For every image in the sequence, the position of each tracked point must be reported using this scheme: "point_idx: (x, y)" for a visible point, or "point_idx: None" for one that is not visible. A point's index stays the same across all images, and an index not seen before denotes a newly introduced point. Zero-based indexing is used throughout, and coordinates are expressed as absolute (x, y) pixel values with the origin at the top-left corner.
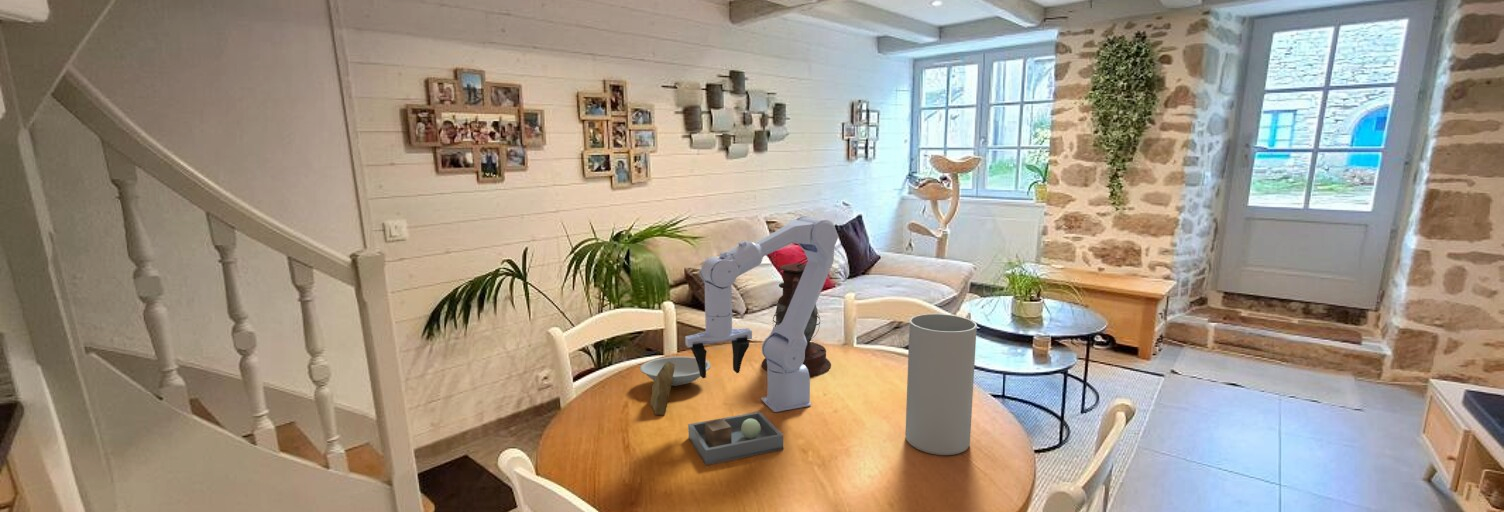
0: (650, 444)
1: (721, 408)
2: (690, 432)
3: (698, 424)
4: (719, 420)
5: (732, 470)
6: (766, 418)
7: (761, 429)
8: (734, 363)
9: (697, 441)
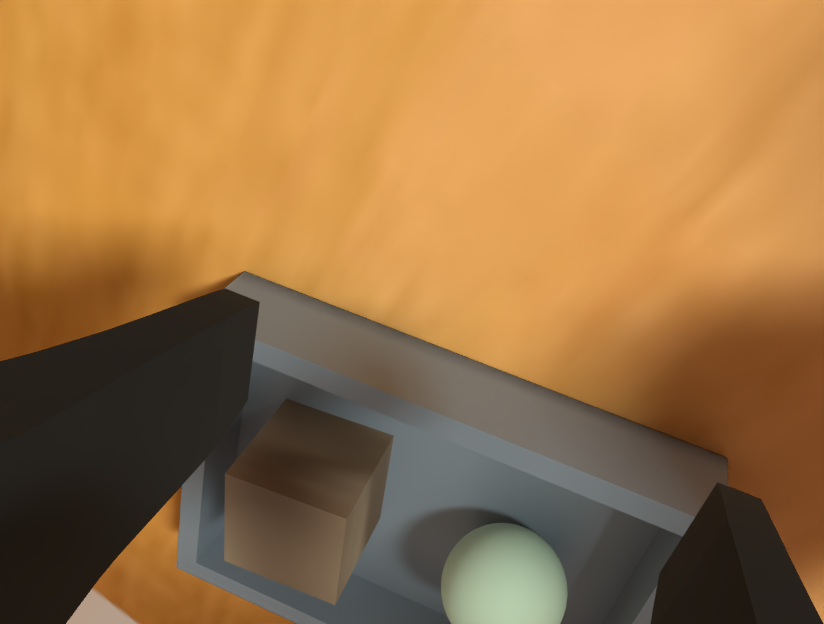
0: (41, 183)
1: (724, 20)
2: None
3: None
4: (315, 516)
5: None
6: None
7: (643, 533)
8: (701, 613)
9: None
